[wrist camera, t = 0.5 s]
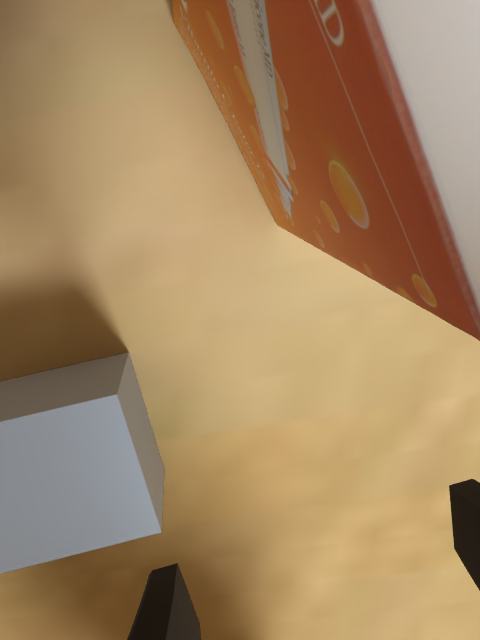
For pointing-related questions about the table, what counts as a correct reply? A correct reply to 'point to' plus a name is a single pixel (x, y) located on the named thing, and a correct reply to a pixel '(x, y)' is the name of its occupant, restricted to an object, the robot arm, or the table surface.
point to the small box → (359, 131)
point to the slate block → (76, 463)
